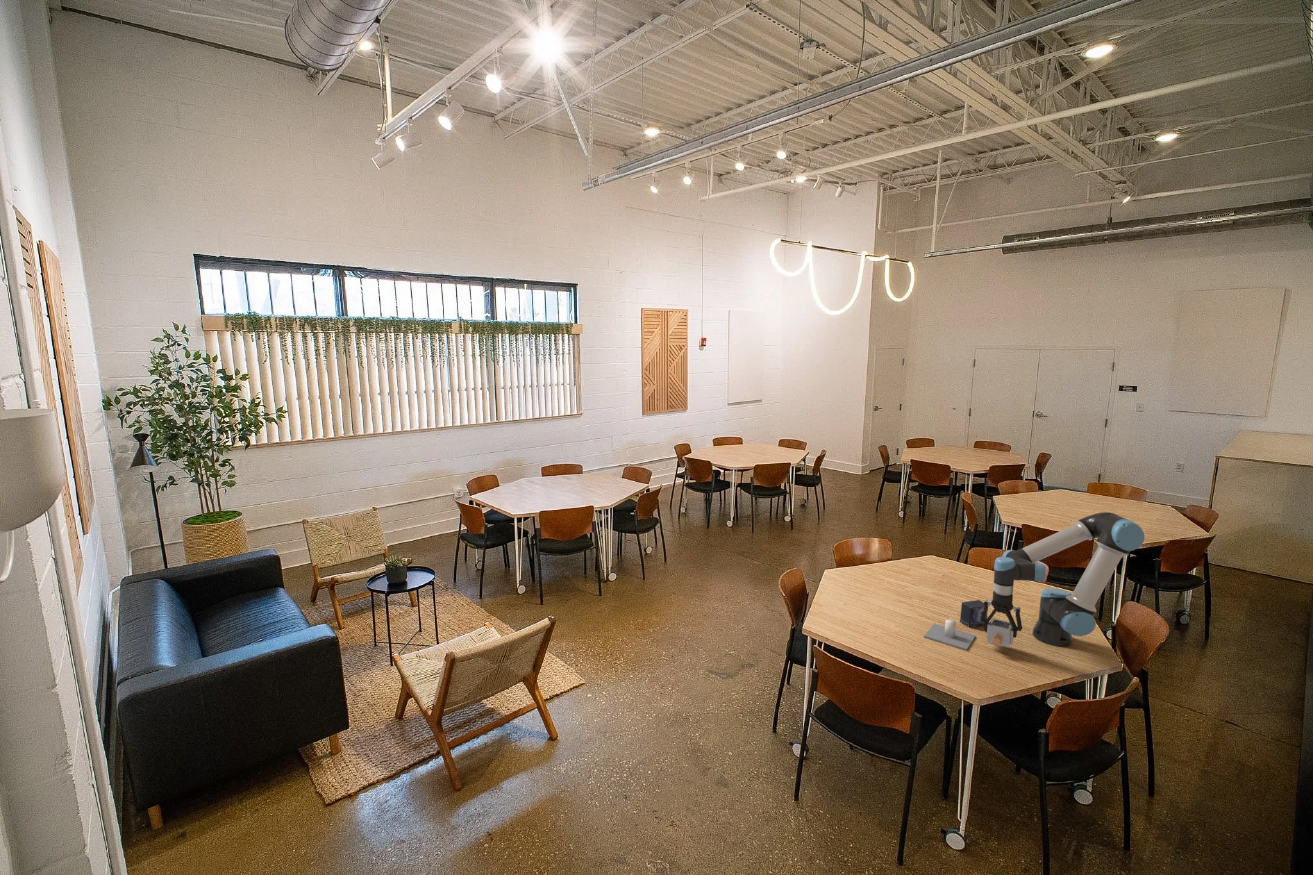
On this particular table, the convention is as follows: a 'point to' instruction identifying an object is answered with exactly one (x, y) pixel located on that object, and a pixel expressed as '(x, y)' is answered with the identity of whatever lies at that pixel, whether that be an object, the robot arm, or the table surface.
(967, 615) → the small box
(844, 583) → the table surface
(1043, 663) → the table surface
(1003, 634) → the collar
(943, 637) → the grey base with peg
